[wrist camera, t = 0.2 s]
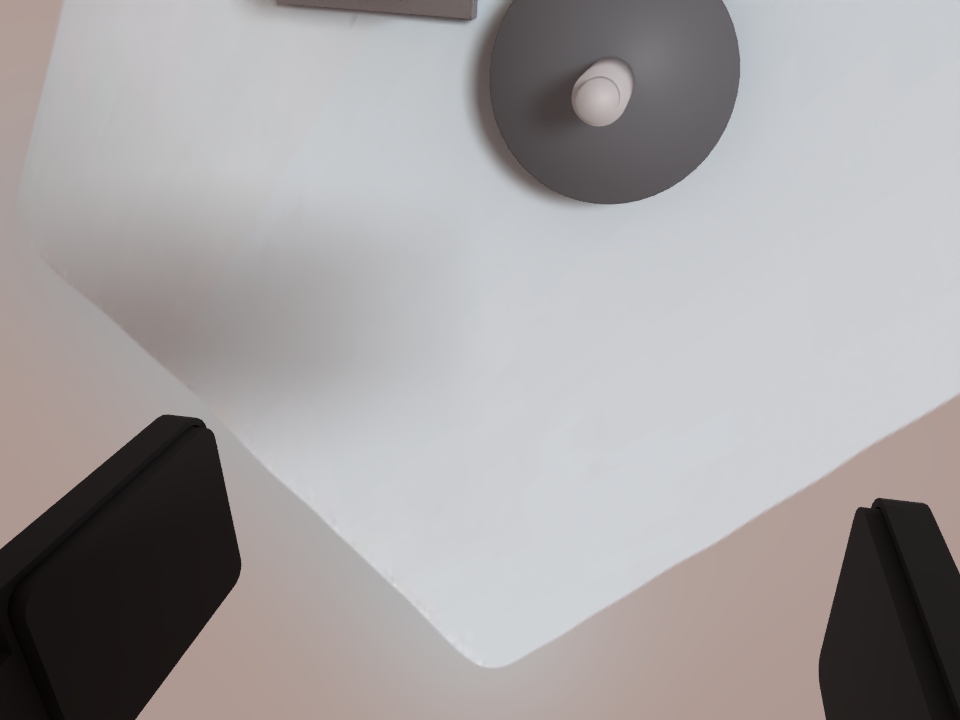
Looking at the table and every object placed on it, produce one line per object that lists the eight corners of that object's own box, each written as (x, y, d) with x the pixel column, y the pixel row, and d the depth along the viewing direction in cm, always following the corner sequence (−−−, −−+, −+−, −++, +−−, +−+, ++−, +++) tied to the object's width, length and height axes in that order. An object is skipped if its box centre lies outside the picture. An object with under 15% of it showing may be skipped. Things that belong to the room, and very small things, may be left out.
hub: (512, -63, 35) (465, -72, 27) (760, -49, 33) (781, -53, 25) (496, 175, 40) (452, 221, 33) (710, 200, 38) (715, 256, 31)
